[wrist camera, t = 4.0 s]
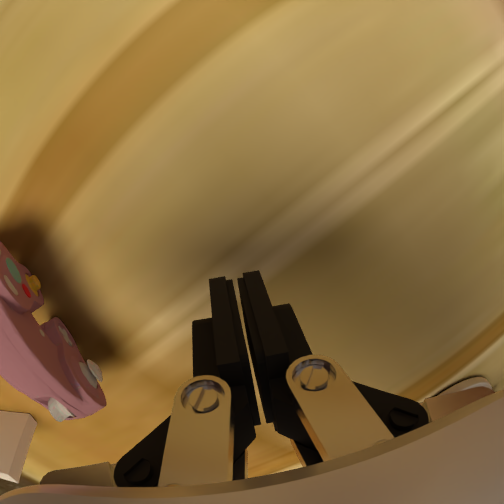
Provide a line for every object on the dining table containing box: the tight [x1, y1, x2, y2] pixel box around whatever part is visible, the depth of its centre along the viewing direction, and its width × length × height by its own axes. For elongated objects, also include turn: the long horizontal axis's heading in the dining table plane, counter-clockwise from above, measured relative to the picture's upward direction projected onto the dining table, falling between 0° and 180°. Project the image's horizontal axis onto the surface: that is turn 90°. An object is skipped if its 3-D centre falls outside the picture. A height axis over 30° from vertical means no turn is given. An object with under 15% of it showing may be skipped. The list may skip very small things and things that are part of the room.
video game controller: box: [0, 241, 106, 422], centre depth 12 cm, size 10×5×7 cm, turn 20°
